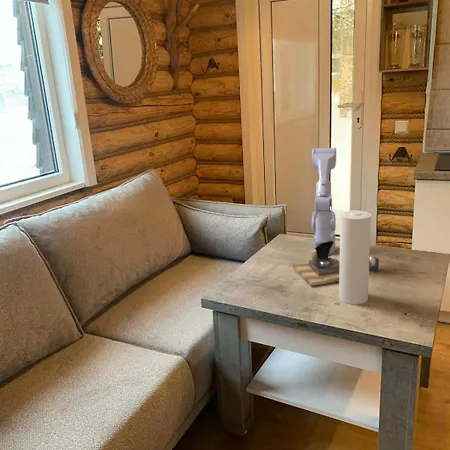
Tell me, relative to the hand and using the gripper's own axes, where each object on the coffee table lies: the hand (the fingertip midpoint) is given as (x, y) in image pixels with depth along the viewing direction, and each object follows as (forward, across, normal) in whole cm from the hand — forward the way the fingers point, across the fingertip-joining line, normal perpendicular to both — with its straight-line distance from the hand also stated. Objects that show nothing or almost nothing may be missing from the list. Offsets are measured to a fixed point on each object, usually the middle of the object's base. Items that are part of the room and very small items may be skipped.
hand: (323, 259), depth 179 cm
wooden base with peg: (+3, +6, +4) cm, 8 cm away
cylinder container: (+3, +18, +22) cm, 28 cm away
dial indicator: (+3, -7, +18) cm, 19 cm away
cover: (+1, +6, +4) cm, 7 cm away
